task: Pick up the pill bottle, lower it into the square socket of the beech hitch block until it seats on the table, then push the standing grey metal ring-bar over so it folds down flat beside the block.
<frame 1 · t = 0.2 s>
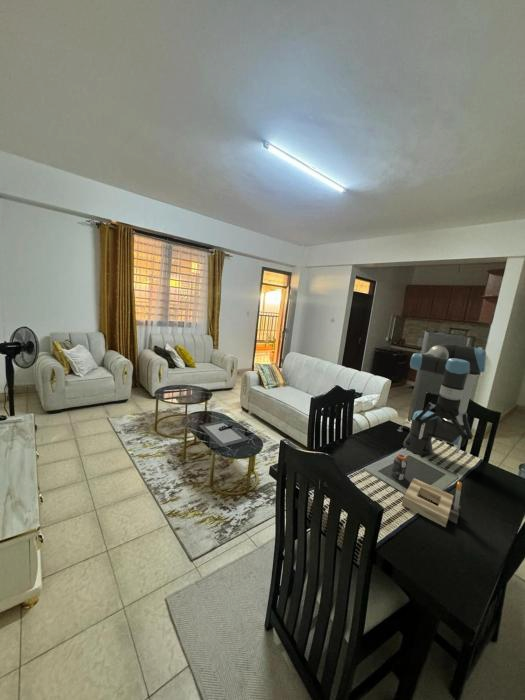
hand: (438, 444, 116), 27 cm above the table, fingers open, 13 cm apart
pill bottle: (397, 476, 138), on the table
ring bar: (457, 497, 113), point 9 cm above the table, hinge at -5.0°
hitch block: (427, 504, 120), on the table
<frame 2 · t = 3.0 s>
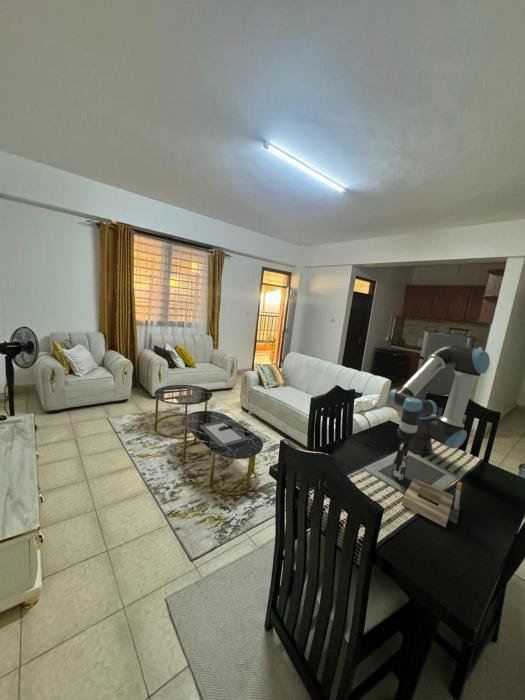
hand: (398, 472, 137), 2 cm above the table, fingers closed on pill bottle, 6 cm apart
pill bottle: (397, 476, 138), on the table, touching gripper
everything else where it was.
when the fingers open (5 cm above the table, at t = 8.1 s): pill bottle drops 3 cm, resting in hitch block.
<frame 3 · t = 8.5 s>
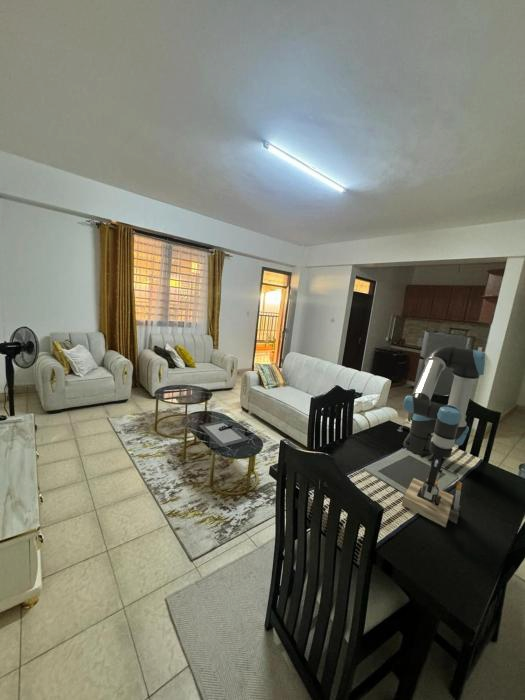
hand: (430, 491, 119), 6 cm above the table, fingers open, 11 cm apart
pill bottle: (426, 504, 120), resting in hitch block
everything else where it was.
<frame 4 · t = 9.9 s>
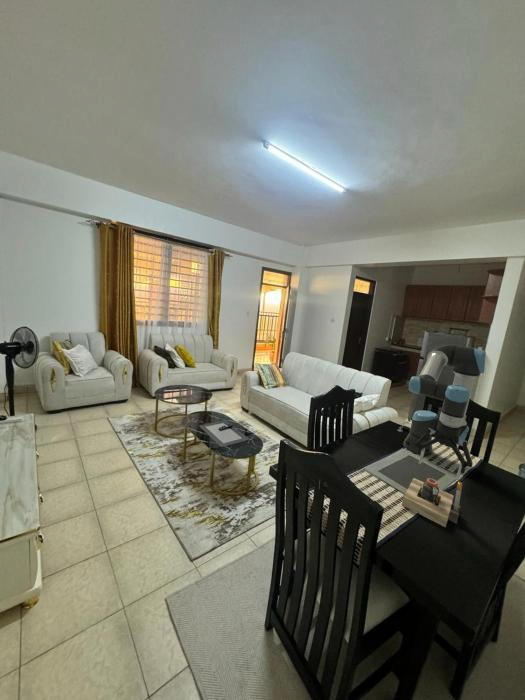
hand: (438, 470, 116), 17 cm above the table, fingers open, 13 cm apart
ring bar: (457, 497, 113), point 9 cm above the table, hinge at -4.3°
everything else where it was.
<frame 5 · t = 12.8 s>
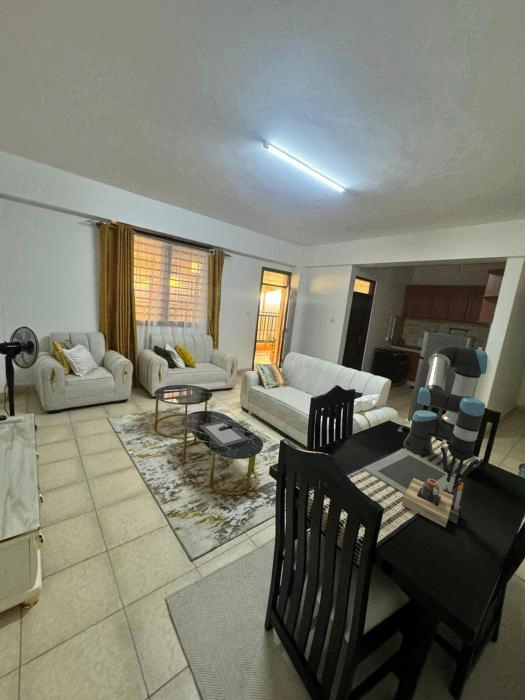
hand: (449, 489, 114), 11 cm above the table, fingers closed
ring bar: (458, 498, 112), point 9 cm above the table, hinge at -2.4°, touching gripper
everything else where it was.
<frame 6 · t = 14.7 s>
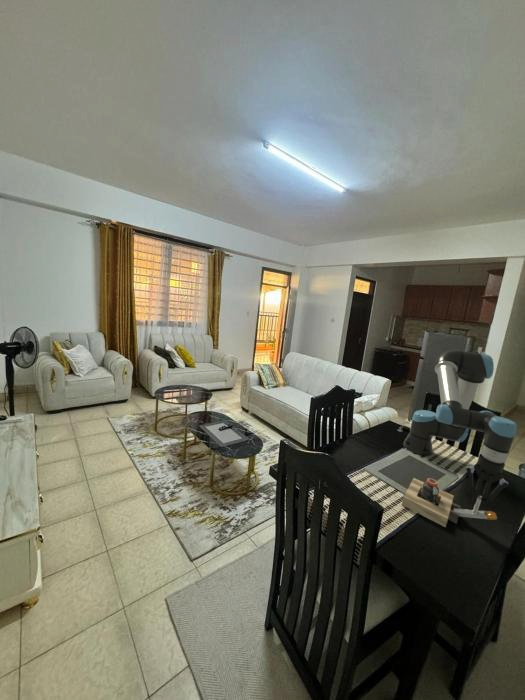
hand: (474, 511, 109), 7 cm above the table, fingers closed
ring bar: (474, 514, 109), point 5 cm above the table, hinge at 63.0°, touching gripper
everything else where it was.
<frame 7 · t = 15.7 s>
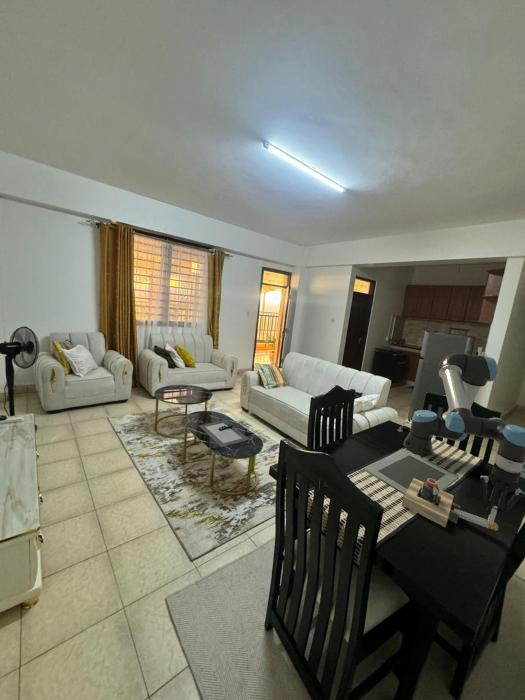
hand: (490, 522, 106), 5 cm above the table, fingers closed
ring bar: (475, 519, 109), point 3 cm above the table, hinge at 82.0°, touching gripper
everything else where it was.
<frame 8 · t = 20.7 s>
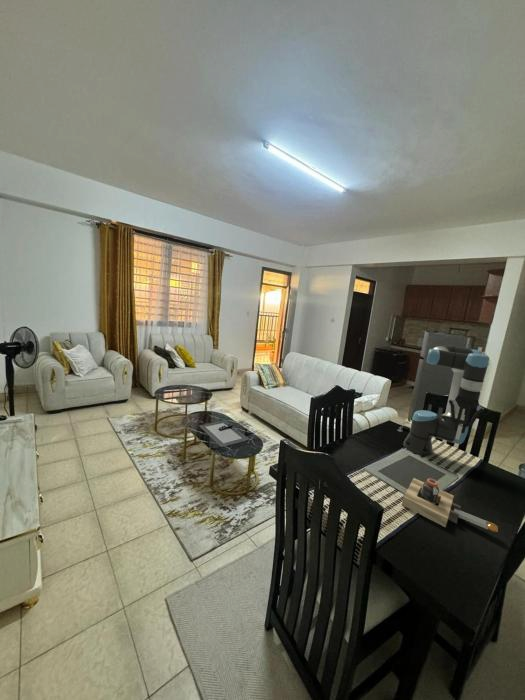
hand: (457, 438, 126), 26 cm above the table, fingers closed
ring bar: (474, 520, 109), point 3 cm above the table, hinge at 85.2°
everything else where it was.
at the end: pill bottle 0.1 cm off-centre on the hitch block, point 0.0 cm above the hitch block's base; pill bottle tilted 1°; ring bar at +85° (first picture: -5°) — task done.
